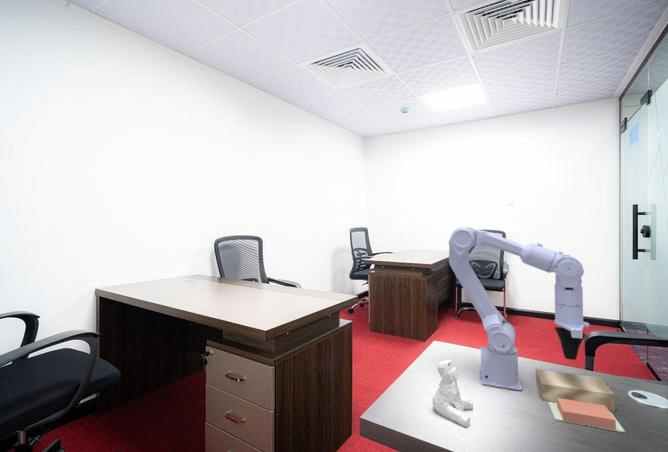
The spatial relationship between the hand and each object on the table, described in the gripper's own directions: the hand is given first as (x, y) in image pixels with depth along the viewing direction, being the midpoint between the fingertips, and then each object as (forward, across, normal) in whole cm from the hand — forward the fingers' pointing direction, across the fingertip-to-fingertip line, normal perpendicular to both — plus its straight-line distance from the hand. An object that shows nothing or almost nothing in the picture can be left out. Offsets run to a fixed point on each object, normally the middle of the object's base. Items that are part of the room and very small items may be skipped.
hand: (570, 358), depth 81 cm
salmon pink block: (+7, -11, 0) cm, 13 cm away
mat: (+9, -10, 0) cm, 14 cm away
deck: (+9, 0, 0) cm, 9 cm away
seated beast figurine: (+10, -19, +27) cm, 34 cm away
